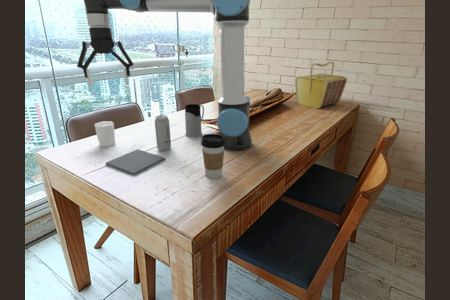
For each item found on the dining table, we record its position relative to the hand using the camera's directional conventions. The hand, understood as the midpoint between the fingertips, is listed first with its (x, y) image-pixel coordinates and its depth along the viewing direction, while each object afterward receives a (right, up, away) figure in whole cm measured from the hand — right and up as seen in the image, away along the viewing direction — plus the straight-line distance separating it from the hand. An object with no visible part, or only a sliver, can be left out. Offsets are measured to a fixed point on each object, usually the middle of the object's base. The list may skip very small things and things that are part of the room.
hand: (109, 85), depth 109 cm
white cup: (-8, -23, +17) cm, 30 cm away
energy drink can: (+19, -26, +12) cm, 34 cm away
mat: (+11, -31, 0) cm, 33 cm away
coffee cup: (+42, -35, -9) cm, 56 cm away
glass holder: (+31, -17, +33) cm, 49 cm away
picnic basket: (+115, +8, +94) cm, 149 cm away
